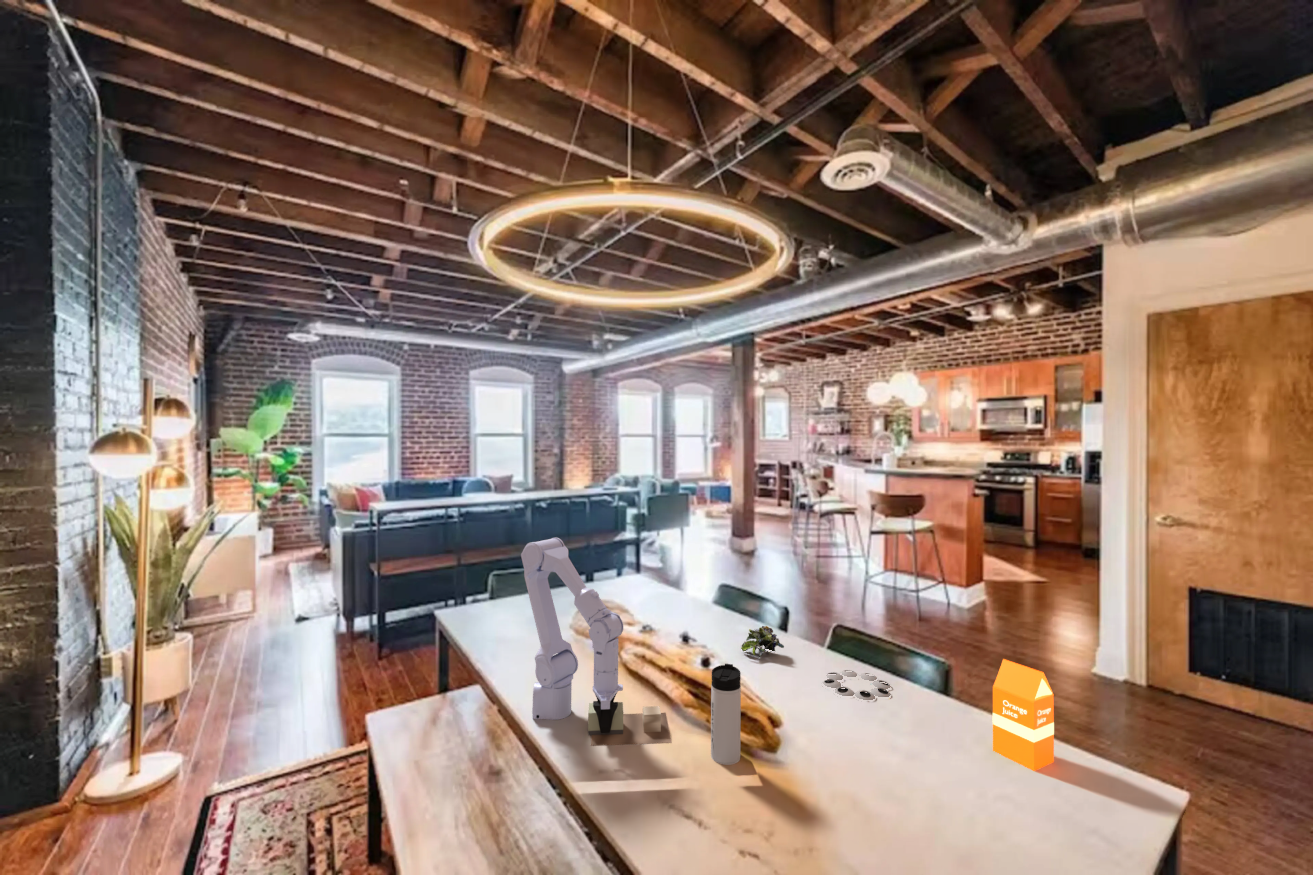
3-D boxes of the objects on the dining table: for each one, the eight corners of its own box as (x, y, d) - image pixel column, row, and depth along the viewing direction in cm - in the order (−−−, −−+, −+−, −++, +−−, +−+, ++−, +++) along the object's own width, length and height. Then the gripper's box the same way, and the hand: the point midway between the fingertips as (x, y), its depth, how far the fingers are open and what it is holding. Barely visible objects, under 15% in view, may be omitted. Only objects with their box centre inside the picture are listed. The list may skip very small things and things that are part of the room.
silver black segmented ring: (872, 711, 144) (872, 703, 144) (807, 686, 159) (807, 679, 159) (907, 689, 157) (906, 682, 157) (843, 668, 172) (843, 661, 172)
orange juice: (1033, 771, 117) (1033, 675, 117) (992, 750, 125) (991, 661, 125) (1054, 761, 120) (1054, 669, 121) (1012, 742, 128) (1012, 655, 129)
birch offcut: (643, 731, 129) (643, 714, 129) (642, 723, 133) (642, 706, 133) (660, 731, 129) (660, 714, 129) (659, 722, 133) (659, 705, 133)
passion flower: (767, 669, 183) (789, 641, 182) (758, 674, 173) (782, 645, 172) (741, 644, 188) (762, 616, 187) (731, 648, 178) (754, 619, 177)
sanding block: (588, 735, 127) (588, 713, 127) (589, 724, 132) (589, 702, 132) (623, 733, 128) (623, 711, 128) (622, 722, 133) (622, 701, 133)
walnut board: (590, 752, 123) (590, 745, 123) (592, 720, 137) (592, 714, 137) (671, 749, 124) (671, 742, 124) (665, 718, 138) (665, 712, 138)
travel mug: (743, 757, 121) (743, 665, 122) (737, 774, 115) (737, 677, 115) (714, 751, 123) (715, 661, 124) (707, 768, 117) (708, 672, 117)
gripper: (623, 680, 123) (623, 741, 123) (622, 655, 138) (622, 710, 138) (591, 680, 123) (591, 742, 123) (593, 656, 137) (593, 711, 137)
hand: (605, 725), depth 130 cm, fingers closed on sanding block, 5 cm apart
